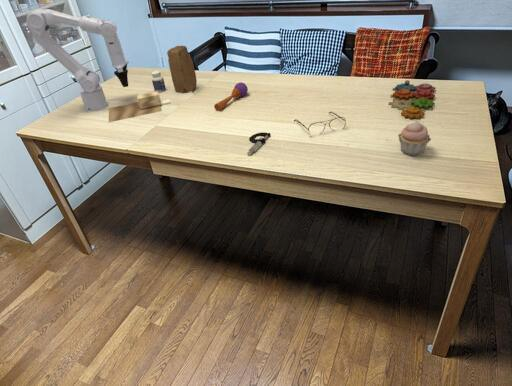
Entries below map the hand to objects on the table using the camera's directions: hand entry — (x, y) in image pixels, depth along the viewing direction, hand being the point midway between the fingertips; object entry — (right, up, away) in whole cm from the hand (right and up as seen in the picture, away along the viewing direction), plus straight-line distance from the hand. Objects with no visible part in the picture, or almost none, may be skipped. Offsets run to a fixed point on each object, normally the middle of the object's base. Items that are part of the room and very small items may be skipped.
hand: (125, 83), depth 163 cm
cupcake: (+106, -35, -48) cm, 121 cm away
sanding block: (+12, -10, -1) cm, 15 cm away
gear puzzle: (+117, -14, -21) cm, 120 cm away
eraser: (+18, -9, +1) cm, 20 cm away
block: (+25, 0, +12) cm, 28 cm away
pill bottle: (+12, 0, +14) cm, 18 cm away
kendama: (+47, -9, -3) cm, 48 cm away
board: (+5, -13, -2) cm, 14 cm away
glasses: (+81, -24, -28) cm, 88 cm away
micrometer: (+57, -32, -35) cm, 74 cm away
